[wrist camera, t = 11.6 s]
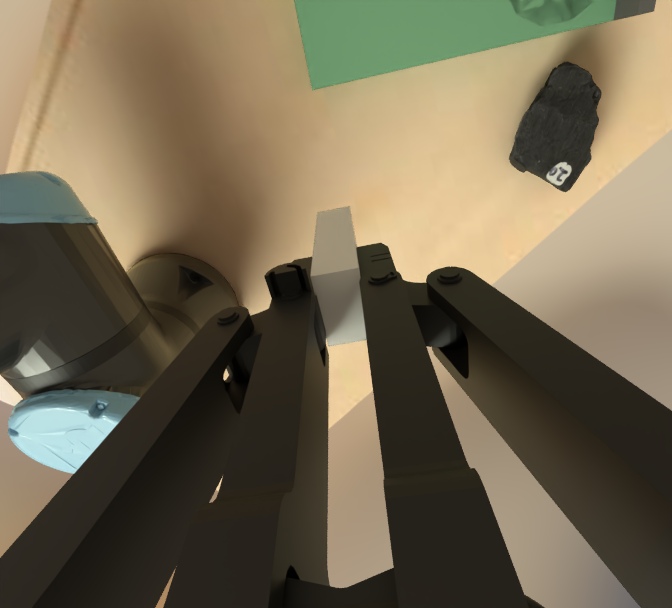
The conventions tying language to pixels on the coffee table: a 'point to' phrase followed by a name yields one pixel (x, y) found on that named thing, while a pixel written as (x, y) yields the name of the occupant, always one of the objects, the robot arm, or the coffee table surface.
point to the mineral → (559, 128)
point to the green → (432, 30)
